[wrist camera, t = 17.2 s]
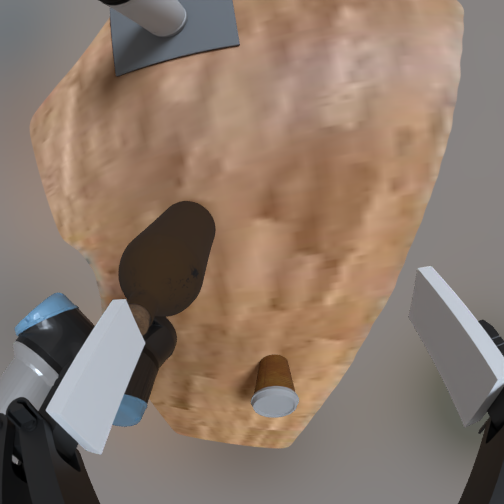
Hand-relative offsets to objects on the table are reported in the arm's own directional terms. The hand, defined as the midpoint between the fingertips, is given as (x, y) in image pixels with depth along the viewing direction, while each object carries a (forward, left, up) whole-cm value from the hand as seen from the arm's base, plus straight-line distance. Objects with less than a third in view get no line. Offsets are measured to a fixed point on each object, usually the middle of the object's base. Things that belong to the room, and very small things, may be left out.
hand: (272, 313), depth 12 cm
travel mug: (-11, +27, -34) cm, 45 cm away
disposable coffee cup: (-3, -42, -35) cm, 55 cm away
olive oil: (-14, -8, -35) cm, 38 cm away
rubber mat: (-11, +27, -35) cm, 45 cm away
